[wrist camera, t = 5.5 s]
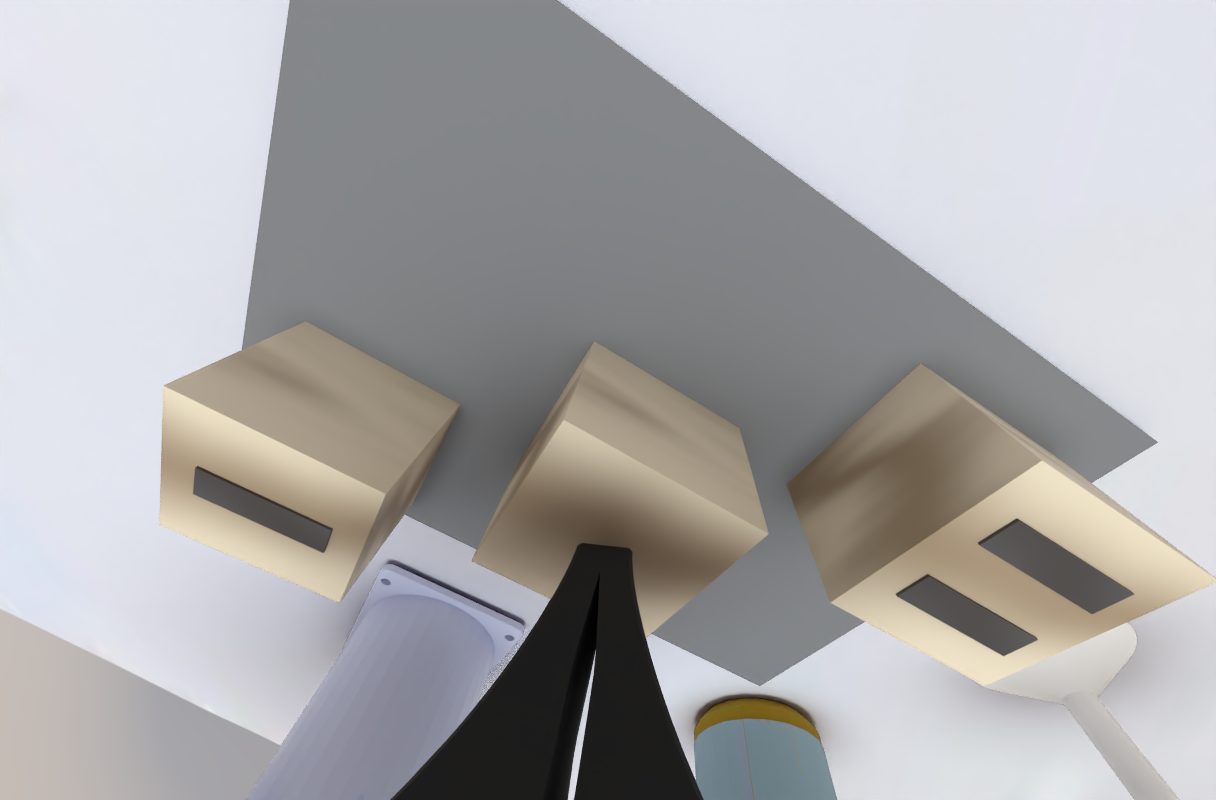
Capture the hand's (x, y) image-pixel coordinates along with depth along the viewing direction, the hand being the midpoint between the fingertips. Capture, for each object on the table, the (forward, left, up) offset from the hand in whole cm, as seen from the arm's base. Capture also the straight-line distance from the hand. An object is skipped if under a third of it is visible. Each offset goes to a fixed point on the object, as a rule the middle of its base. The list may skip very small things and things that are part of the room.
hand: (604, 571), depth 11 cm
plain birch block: (0, 0, -6) cm, 6 cm away
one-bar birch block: (-5, +9, -6) cm, 12 cm away
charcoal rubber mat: (+1, 0, -6) cm, 6 cm away
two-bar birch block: (+5, -9, -6) cm, 12 cm away
